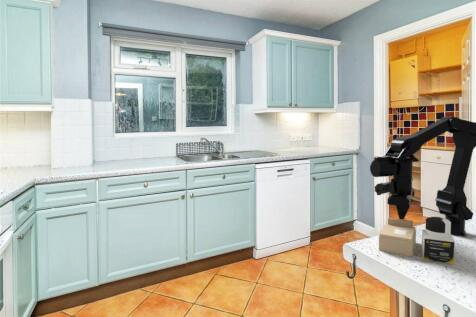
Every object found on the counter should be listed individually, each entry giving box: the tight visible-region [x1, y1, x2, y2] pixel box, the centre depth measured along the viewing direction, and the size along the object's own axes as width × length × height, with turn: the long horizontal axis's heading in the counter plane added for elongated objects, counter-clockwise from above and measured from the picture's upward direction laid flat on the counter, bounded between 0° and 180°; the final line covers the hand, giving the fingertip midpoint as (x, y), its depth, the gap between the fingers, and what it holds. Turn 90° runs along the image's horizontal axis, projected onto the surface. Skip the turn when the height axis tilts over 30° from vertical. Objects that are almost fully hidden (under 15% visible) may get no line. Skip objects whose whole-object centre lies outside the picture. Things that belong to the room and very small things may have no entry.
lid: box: [379, 217, 416, 241], centre depth 94 cm, size 12×9×3 cm
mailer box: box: [378, 228, 417, 257], centre depth 94 cm, size 12×9×5 cm
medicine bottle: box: [421, 216, 456, 265], centre depth 86 cm, size 7×7×12 cm
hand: (401, 220), depth 101 cm, fingers closed
